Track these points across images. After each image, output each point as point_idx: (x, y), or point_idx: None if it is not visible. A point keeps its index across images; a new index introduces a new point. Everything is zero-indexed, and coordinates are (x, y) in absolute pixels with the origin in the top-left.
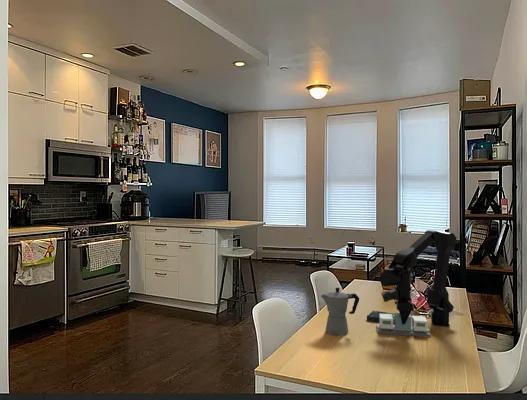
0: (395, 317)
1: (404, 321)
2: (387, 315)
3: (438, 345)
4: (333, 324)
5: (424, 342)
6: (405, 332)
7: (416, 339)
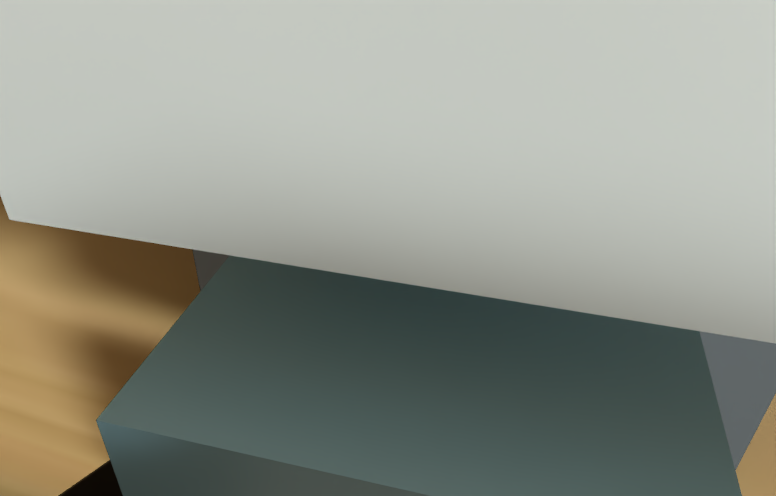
0: (189, 365)
1: None
2: (689, 28)
3: (18, 491)
4: None
5: (33, 407)
6: None
7: (100, 359)
